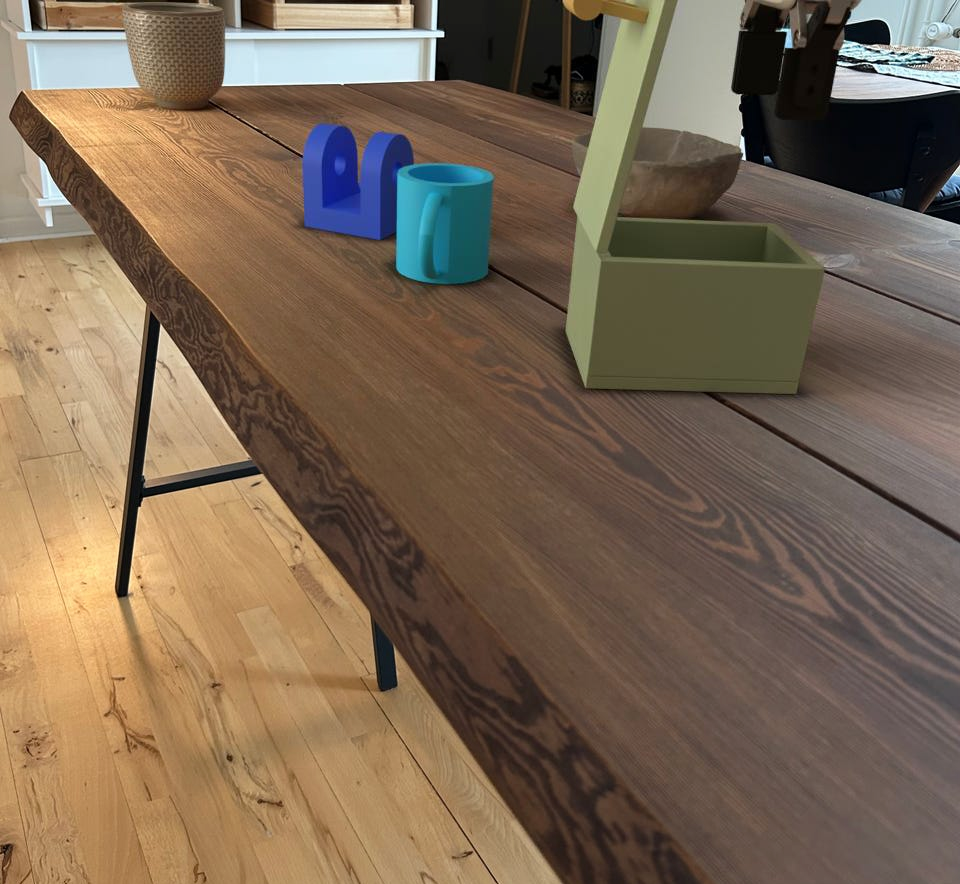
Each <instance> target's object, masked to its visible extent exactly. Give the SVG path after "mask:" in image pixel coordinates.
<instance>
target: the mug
mask: <svg viewBox="0 0 960 884" xmlns="http://www.w3.org/2000/svg"><path fill="white" fill-rule="evenodd" d="M493 193H494V174H492V173H491V172H490V171H488V170H486V169H483V168H480V167H477V166H471V165H465V164H458V163H447V162H446V163H445V162H443V163H442V162H426V163H416V164H415V163H414V165H410V166H405V167H403V168H401V169H399V170H398V173H397V232H396V253H395V254H396V259H395V260H396V261H395V262H396V263H395V265H396V266H395V267H396V268H395V269H396V270H397V272H398V273H399V274H401V275H402V276H404V277H405V278H408V279H411V280H415V281H418V282H423V283H428V284H429V283H430V284H441V285H454V284H455V285H458V284H466V283H467V284H468V283H472V282H476V281H479V280H482V279H484V278H485V277H486V276H487V275H488V274H489V261H490V242H491V227H492V226H491V225H492V211H493V210H492V208H493Z"/></svg>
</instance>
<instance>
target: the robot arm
mask: <svg viewBox="0 0 960 884" xmlns="http://www.w3.org/2000/svg"><path fill="white" fill-rule="evenodd" d="M861 2H862V0H744V5H743V8H742V11H741V14H740V16H739V29H740V30H738V35H737V43H736V48H735V49H736V50H735V57H734V64H733V71H732V77H731V85H730V90H731V92H732V93H734V94H735V95H746V96H747V95H750V96H751V95H752V96H753V95H754V96H774V95H775V94H776V93H777V96H776V100H775V107H774V116H775V117H776V118H777V119H779V120H781V121H782V120H783V121H823V120H825V119H826V118H827V116H828V114H829V110H830V109H829V108H830V103H831V98H832V92H833V88H834V81H835V76H836V72H837V67H838V62H839V55H840V50H841V49H842V47H843V45H844V41H845V27H846V25H847V23H848V21H849V20H850V18H851V17H852V11H853V10H855V9H856V8H857V7H858V6H859V5H860V4H861ZM807 15H810V17H809V19H808V17H807ZM788 16H789V23H790V24H789V25H790V37H791V47H786V42H787V38H788V37H787V36H788V32H787V31H783V30H782V29H783V28H784V24H785V22H786V20H787V18H788ZM781 30H782V31H781Z"/></svg>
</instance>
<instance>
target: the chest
mask: <svg viewBox="0 0 960 884" xmlns="http://www.w3.org/2000/svg"><path fill="white" fill-rule="evenodd" d="M576 217H577V218H576V226H575V227H576V228H575V237H574V246H573V256H572V263H571V264H572V266H571V275H570V284H569V295H568V303H567V315H566V321H565V322H566V324H565V333H566V336H567V339H568V342H569V345H570V348H571V351H572V354H573V356H574V359H575V362H576V365H577V368H578V370H579V374H580V377H581V380H582V382H583V385H584V388H585V389H591V390H593V389H598V390H599V389H600V390H628V391H629V390H632V391H633V390H634V391H665V392H666V391H667V392H669V391H670V392H700V393H701V392H703V393H704V392H705V393H738V394H739V393H741V394H773V395H775V394H778V395H780V394H781V395H797V392H798V388H799V383H800V378H801V374H802V369H803V365H804V361H805V358H806V357H805V356H806V352H807V348H808V343H809V339H810V335H811V330H812V327H813V322H814V318H815V313H816V311H817V310H816V309H817V305H818V301H819V296H820V291H821V287H822V285H823V284H822V283H823V279H824V275H825V270H826V269H825V266H823V265H822V264H821V263H820V262H819V261H818V260H817V259H815V258H814V257H813V256H812V255H811V254H810V253H809V252H808V251H807V250H806V249H804V248H803V247H802V246H801V245H800V244H799V243H798V241H796V240H795V239H793V238H792V237H791V235H789V234H788V233H787V232H786V231H785V230H784V229H783V228H782V227H781V226H779V225H777V223H774V222H772V223H771V222H749V221H748V222H746V221H722V220H699V219H687V220H677V219H652V218H628V217H625V216H623V217H622V216H617V219H616V223H615V227H614V230H613V234H612V237H611V241H610V244H609V248H608V252H607V253H606V254H605V253H600V252H596V251H595V249H594V247H593V246H592V244H591V242H590V240H589V238H588V236H587V234H586V232H585V230H584V228H583V226H582V224H581V222H580V220H579V218H578V216H577V215H576Z"/></svg>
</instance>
